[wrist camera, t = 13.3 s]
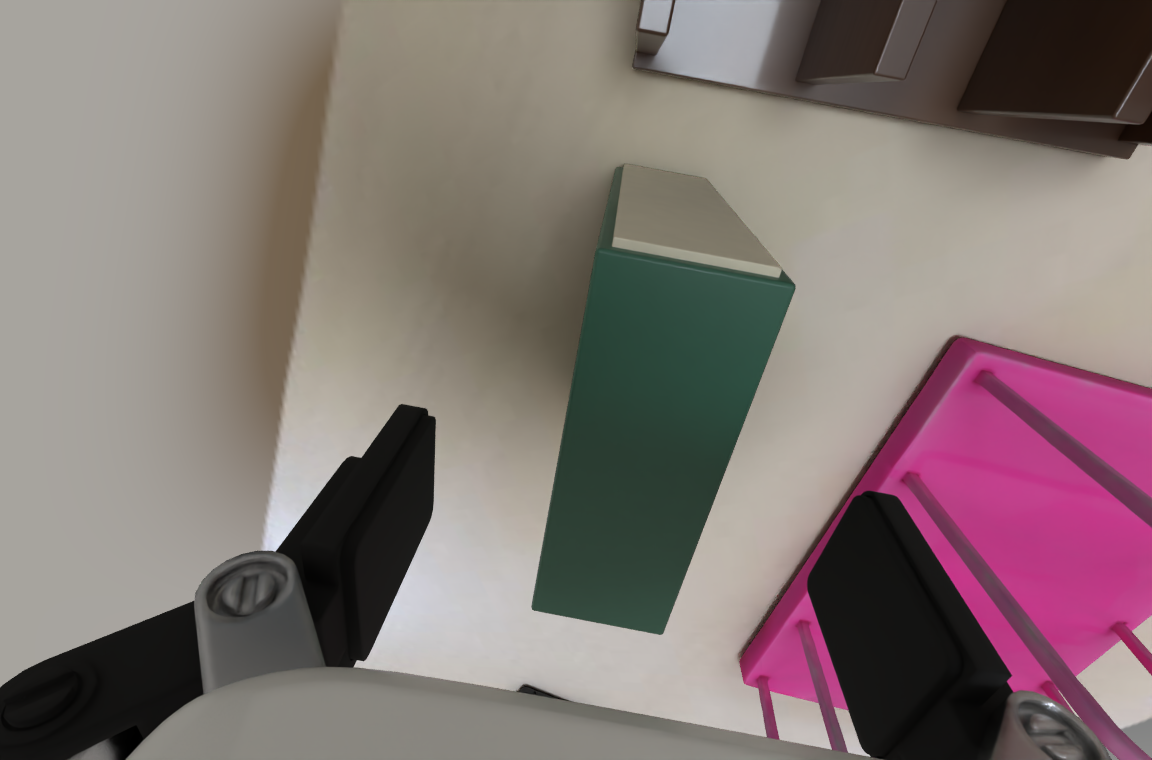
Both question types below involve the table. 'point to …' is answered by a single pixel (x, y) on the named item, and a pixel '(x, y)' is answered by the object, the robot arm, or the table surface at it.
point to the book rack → (927, 61)
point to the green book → (655, 396)
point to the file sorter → (1006, 528)
